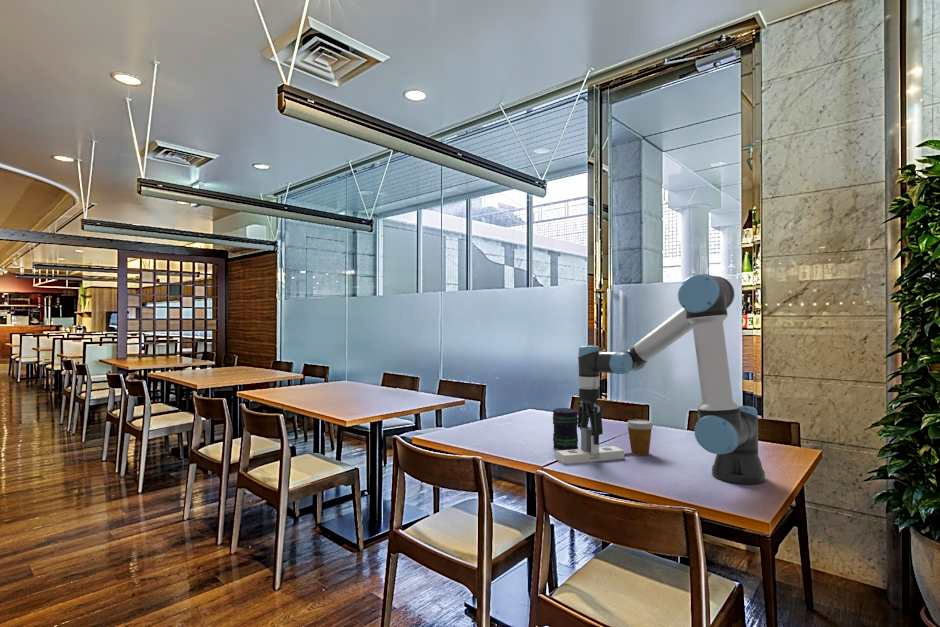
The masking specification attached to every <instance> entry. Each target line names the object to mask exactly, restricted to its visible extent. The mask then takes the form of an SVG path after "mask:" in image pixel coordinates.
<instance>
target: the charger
mask: <svg viewBox="0 0 940 627" xmlns="http://www.w3.org/2000/svg"><path fill="white" fill-rule="evenodd" d="M591 434H592V429H591V426H588V427H582V428H581V430H580V449H582V450H584V451H586V452H588V453H590V456H592V453H591Z"/></svg>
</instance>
